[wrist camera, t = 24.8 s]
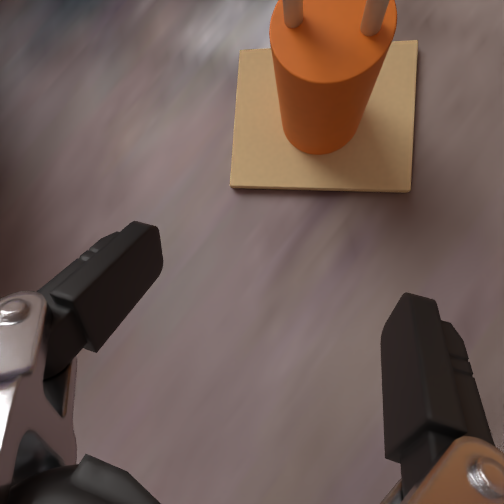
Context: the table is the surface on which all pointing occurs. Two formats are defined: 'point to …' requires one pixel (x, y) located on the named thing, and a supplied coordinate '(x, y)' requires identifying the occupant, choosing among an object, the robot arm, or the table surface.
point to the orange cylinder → (327, 66)
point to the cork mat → (338, 162)
